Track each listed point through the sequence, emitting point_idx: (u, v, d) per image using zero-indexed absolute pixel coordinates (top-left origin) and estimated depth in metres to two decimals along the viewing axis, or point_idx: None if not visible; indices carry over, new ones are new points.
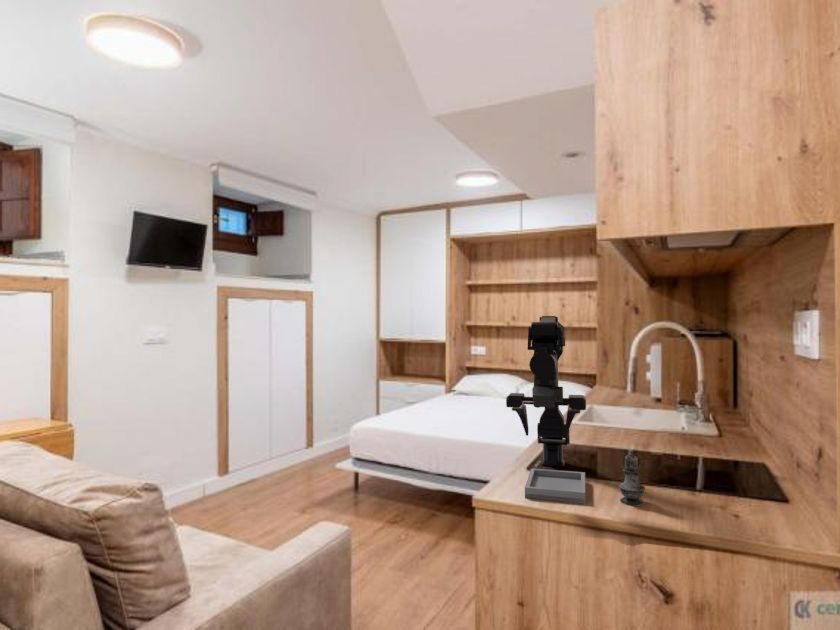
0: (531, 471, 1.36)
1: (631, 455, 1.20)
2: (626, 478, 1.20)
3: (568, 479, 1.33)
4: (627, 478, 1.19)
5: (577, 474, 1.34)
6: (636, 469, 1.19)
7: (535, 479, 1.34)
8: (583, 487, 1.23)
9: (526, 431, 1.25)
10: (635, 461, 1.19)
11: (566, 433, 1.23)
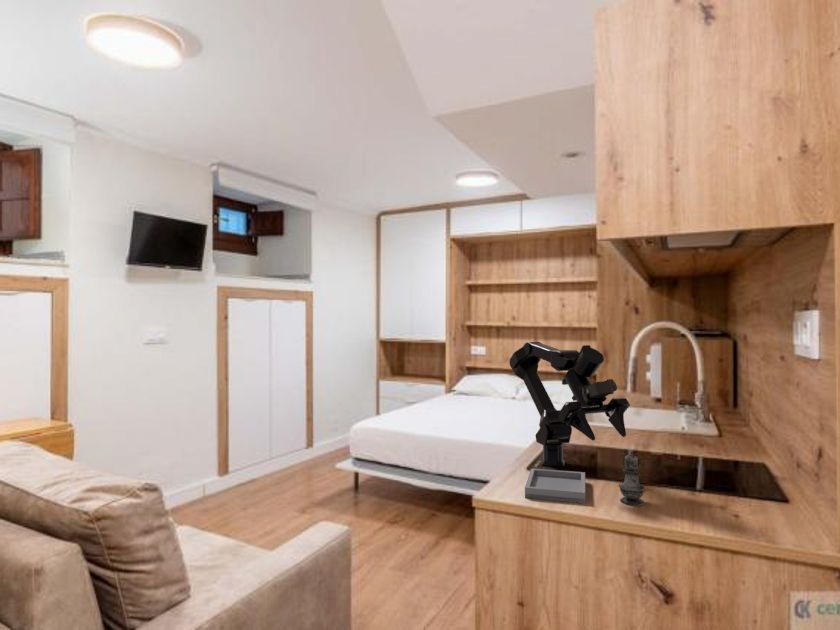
0: (531, 471, 1.36)
1: (631, 455, 1.20)
2: (626, 478, 1.20)
3: (568, 479, 1.33)
4: (627, 478, 1.19)
5: (577, 474, 1.34)
6: (636, 469, 1.19)
7: (535, 479, 1.34)
8: (583, 487, 1.23)
9: (592, 434, 1.26)
10: (635, 461, 1.19)
11: (624, 430, 1.29)
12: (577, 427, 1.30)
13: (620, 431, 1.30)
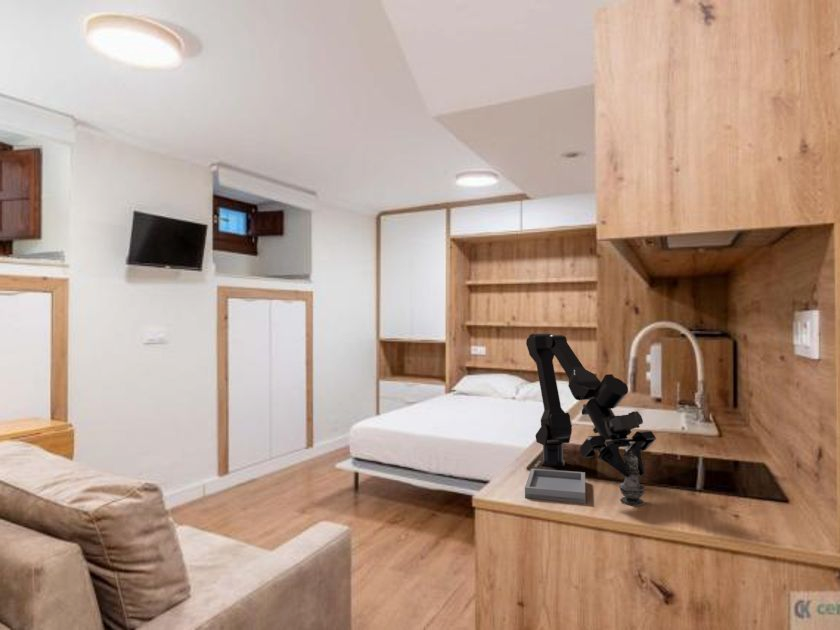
0: (531, 471, 1.36)
1: (631, 455, 1.20)
2: (626, 478, 1.20)
3: (568, 479, 1.33)
4: (627, 478, 1.19)
5: (577, 474, 1.34)
6: (636, 469, 1.19)
7: (535, 479, 1.34)
8: (583, 487, 1.23)
9: (627, 470, 1.18)
10: (635, 461, 1.19)
11: (642, 468, 1.20)
12: (610, 462, 1.22)
13: None
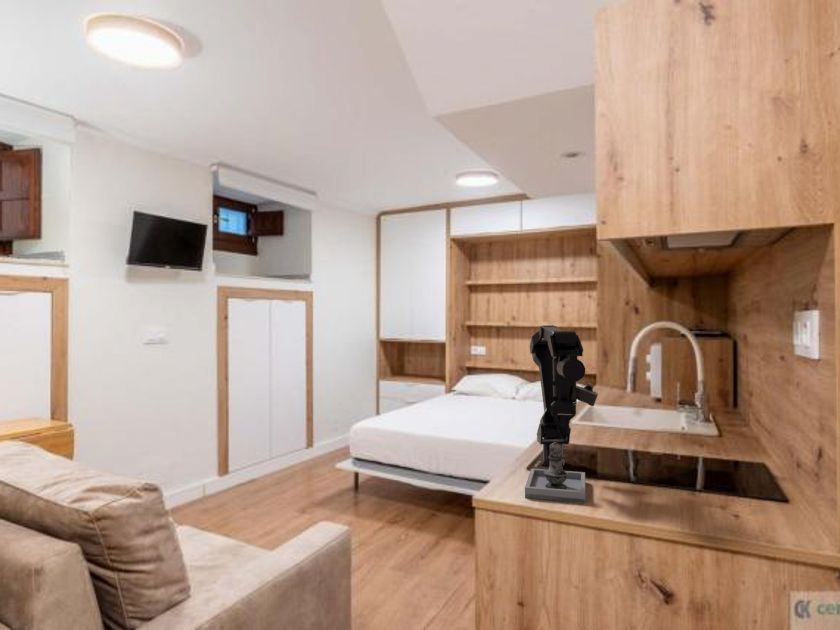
0: (531, 471, 1.36)
1: (554, 443, 1.28)
2: None
3: (568, 479, 1.33)
4: None
5: (577, 474, 1.34)
6: (556, 456, 1.27)
7: (535, 479, 1.34)
8: (583, 487, 1.23)
9: (567, 434, 1.32)
10: (555, 448, 1.27)
11: None
12: (557, 421, 1.32)
13: None
